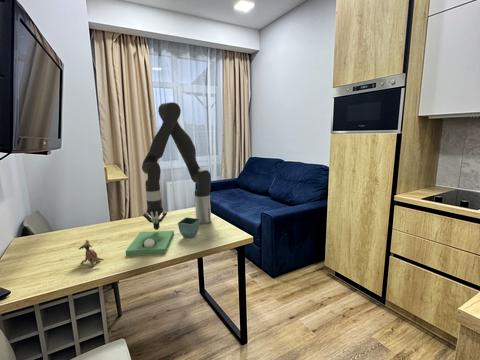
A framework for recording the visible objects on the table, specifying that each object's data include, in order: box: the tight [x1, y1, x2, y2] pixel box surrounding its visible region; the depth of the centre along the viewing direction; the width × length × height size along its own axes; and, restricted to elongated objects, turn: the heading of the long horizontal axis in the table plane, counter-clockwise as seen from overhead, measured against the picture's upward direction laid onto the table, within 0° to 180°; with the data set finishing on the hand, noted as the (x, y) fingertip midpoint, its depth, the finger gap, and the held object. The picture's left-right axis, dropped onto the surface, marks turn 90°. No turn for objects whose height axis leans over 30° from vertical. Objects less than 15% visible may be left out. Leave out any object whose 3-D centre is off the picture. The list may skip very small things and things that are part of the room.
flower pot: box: [177, 216, 200, 239], centre depth 136 cm, size 9×9×9 cm
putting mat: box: [125, 230, 175, 257], centre depth 128 cm, size 18×22×2 cm
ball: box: [144, 239, 155, 247], centre depth 123 cm, size 5×5×5 cm
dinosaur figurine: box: [78, 239, 105, 268], centre depth 110 cm, size 14×6×9 cm, turn 57°
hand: (156, 229), depth 137 cm, fingers closed
